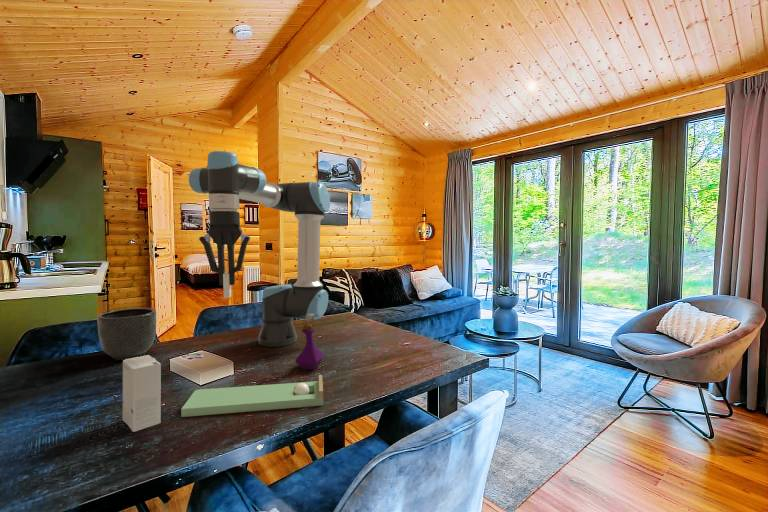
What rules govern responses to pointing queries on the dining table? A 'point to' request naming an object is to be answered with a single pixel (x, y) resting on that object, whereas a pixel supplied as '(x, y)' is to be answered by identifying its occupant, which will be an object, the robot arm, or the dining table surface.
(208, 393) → the green
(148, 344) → the planter
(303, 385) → the ball
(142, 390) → the skincare box
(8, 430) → the dining table surface
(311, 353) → the perfume bottle
